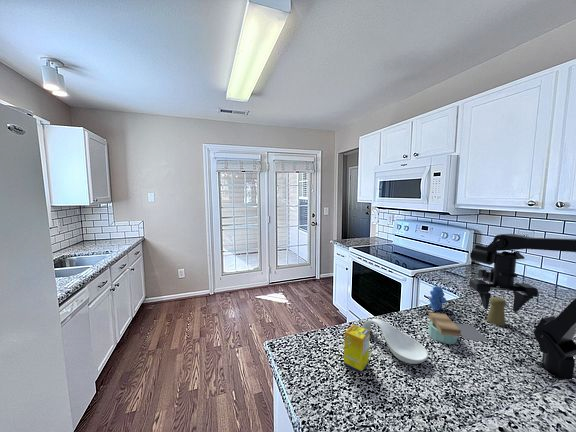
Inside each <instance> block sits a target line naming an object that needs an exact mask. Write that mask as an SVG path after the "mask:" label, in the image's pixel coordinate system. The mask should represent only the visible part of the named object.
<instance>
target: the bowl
mask: <svg viewBox="0 0 576 432" xmlns="http://www.w3.org/2000/svg"><path fill="white" fill-rule="evenodd" d="M427 330H428V331H427V332H428V335H429V337H431V338H432V339H433V340H436V341H437V342H440V343H442V344H446V345H453V344H456V343H457V342H458V338H459V336H451V335H443V334H441V333H440V332H439V331H438V329H437V328H436V327H435V325H434V324H433V323H432V321H431V320H430V321H429V323H428V329H427Z"/></svg>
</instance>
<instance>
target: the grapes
mask: <svg viewBox="0 0 576 432" xmlns="http://www.w3.org/2000/svg"><path fill="white" fill-rule="evenodd" d="M429 294H430V297H428V301H429V302H430V303H429V306H430V308H431V309H432V310H433V311H436V312H437V311H439V310H440V309H443V305H444V304H447V302H448V301H447V299H446V297H445V293H444V290H443V288H442V287H441V286H437V285H436V286H433V287H432V290H431V291H429ZM442 304H443V305H442Z"/></svg>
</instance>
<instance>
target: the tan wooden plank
mask: <svg viewBox="0 0 576 432" xmlns="http://www.w3.org/2000/svg"><path fill="white" fill-rule="evenodd" d="M428 319H429V320H430V321H432V323H433V324H434V325H435V327H436V328H437V329H438V331H439V332H440V333H441V334H443V335H451V336H458V337H461V336H462V335H461V330H460V329H459V328H458V327H457V326H456V325H455V324H454V323H455V322H454V321H452V319H451V318H450V317H449V316H448V315H447V314H446V313H439V312H428Z"/></svg>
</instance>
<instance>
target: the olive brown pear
mask: <svg viewBox="0 0 576 432" xmlns="http://www.w3.org/2000/svg"><path fill="white" fill-rule="evenodd" d="M489 303H490V304H489V305H490V307H489V311H488V315H487V318H486V321H487V322H488V323H490V324H492V325H495V326H499V327H505V326H506V319H505V317H506V316H505V308H506V307H507V302H506V300H505V299H504V298H501V297H497V296H496V297H495V296H492V297H490V300H489Z"/></svg>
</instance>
